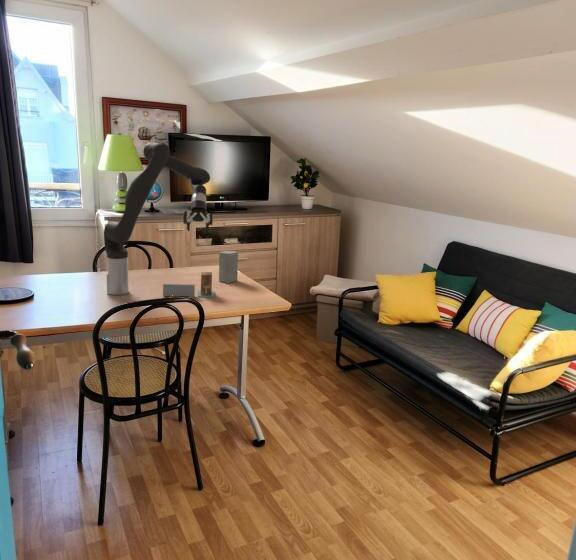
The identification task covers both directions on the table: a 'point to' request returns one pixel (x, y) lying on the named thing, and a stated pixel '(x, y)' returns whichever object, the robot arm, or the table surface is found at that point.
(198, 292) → the pad
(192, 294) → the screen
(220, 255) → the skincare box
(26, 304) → the table surface
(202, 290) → the marked block
